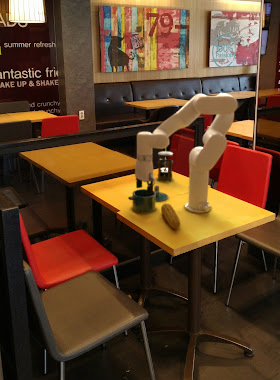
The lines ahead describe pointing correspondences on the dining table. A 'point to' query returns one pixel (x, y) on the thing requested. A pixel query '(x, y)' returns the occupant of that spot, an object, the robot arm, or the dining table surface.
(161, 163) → the french press
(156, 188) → the lid
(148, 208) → the pot
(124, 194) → the dining table surface
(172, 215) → the food
